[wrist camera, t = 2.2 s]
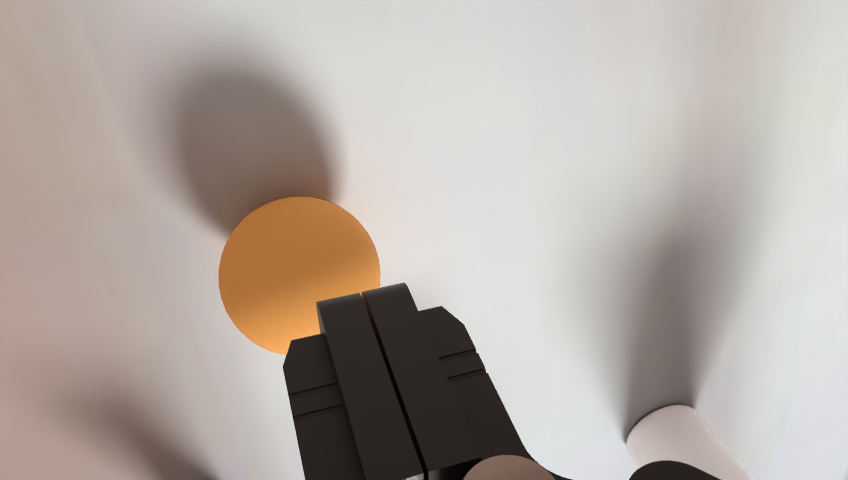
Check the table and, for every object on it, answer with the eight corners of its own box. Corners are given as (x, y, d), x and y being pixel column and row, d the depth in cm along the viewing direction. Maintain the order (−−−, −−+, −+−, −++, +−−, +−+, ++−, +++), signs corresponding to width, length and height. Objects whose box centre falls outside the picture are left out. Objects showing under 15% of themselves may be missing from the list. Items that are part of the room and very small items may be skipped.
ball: (198, 180, 27) (209, 283, 22) (355, 154, 28) (395, 247, 24) (227, 297, 31) (241, 406, 26) (364, 269, 32) (400, 368, 28)
